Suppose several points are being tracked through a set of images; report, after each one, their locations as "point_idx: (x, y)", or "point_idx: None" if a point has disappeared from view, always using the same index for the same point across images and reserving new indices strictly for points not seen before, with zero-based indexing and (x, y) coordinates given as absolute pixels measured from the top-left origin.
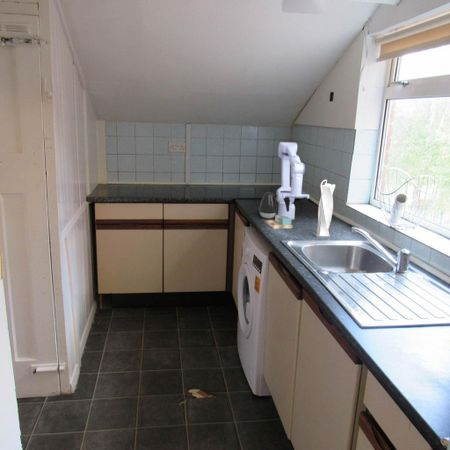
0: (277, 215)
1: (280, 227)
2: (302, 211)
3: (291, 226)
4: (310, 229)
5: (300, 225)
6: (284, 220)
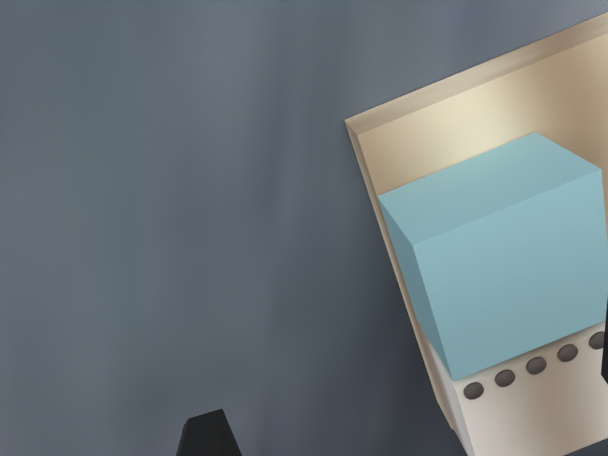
0: (597, 422)
1: (575, 33)
2: (186, 426)
3: (375, 119)
4: (2, 118)
5: (195, 336)
6: (553, 171)
